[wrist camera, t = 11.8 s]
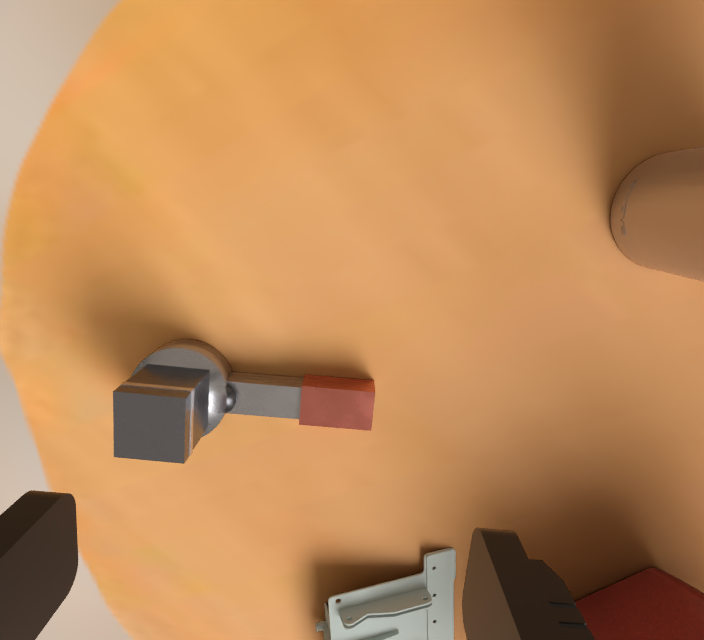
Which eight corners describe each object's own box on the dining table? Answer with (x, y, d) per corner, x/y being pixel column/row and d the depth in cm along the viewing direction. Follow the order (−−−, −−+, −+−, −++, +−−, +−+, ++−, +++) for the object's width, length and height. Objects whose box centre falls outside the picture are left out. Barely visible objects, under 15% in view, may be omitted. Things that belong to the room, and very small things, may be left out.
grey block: (210, 369, 41) (186, 397, 35) (208, 427, 42) (184, 464, 36) (147, 363, 41) (112, 390, 35) (146, 421, 42) (113, 457, 36)
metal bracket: (332, 735, 47) (322, 596, 43) (318, 679, 52) (308, 552, 49) (473, 688, 50) (474, 557, 47) (446, 641, 56) (446, 520, 52)
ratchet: (376, 355, 44) (379, 379, 38) (367, 440, 46) (369, 475, 40) (143, 335, 44) (110, 356, 38) (144, 421, 45) (113, 454, 40)
